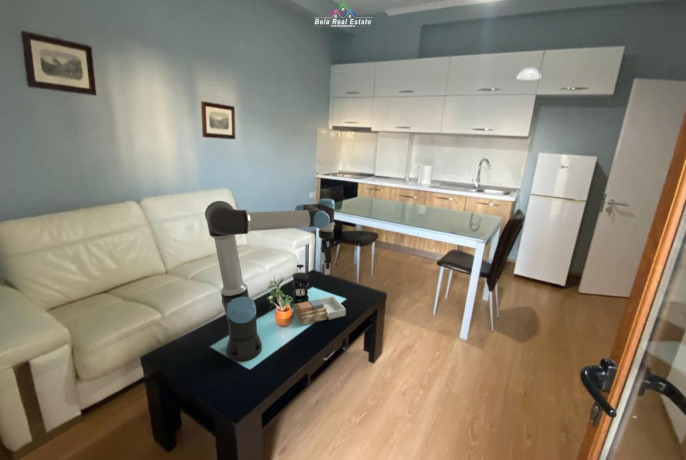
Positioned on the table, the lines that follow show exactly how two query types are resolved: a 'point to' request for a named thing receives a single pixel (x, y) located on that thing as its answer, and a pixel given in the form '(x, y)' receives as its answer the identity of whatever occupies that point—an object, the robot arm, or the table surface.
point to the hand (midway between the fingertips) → (325, 269)
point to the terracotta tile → (304, 307)
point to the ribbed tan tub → (310, 315)
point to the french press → (299, 291)
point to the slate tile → (316, 304)
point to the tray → (333, 307)
